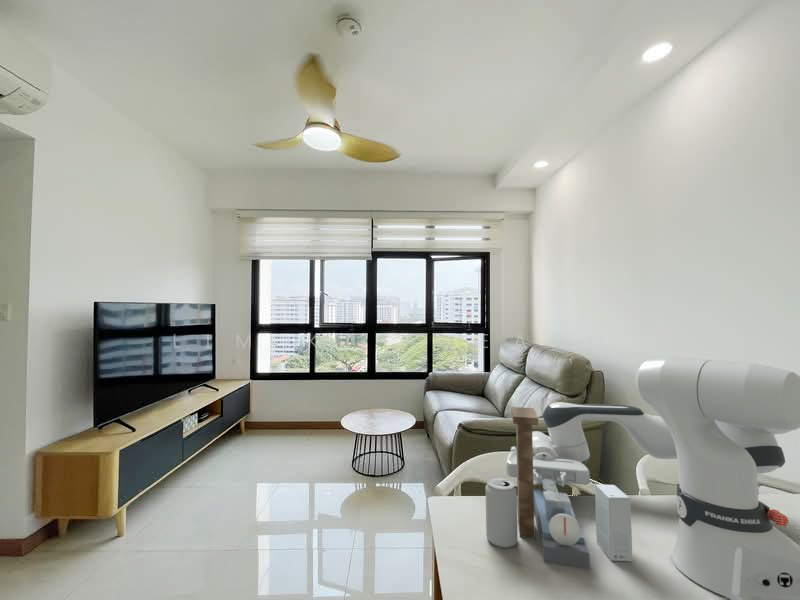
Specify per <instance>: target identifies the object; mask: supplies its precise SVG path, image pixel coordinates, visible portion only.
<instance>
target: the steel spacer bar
mask: <svg viewBox="0 0 800 600" xmlns="http://www.w3.org/2000/svg"><path fill="white" fill-rule="evenodd" d="M542 477H543V484H541V485H542V488H543V489H542V490H544V491H543V505H544V513H545V517H546V519H551V518H552V517H553V516H555V515H557V514H567V515H570V516H571V507H572V502H571V499H570V497H569V495H568V493H566V492H564V493H559V492H560V491H559V490H558V486H557V483H556V481H554V479H553V476H551V475H542ZM565 493H566V494H565Z"/></svg>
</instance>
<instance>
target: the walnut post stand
mask: <svg viewBox="0 0 800 600" xmlns="http://www.w3.org/2000/svg"><path fill="white" fill-rule="evenodd" d="M510 408H511V417H512V418H511V419H512V423H513V425H515V428H516V430H515V433H516V446H517V477H516V480H517V481H516V485H517V488H516V491H517V526H518V534H519V537H521V538H529V539H535V515H534V490H533V489H534V480H533V443H532V432H533V426H539V417H538V415H537V413H536V412H537V411H536V409H535V408H534V407H524V406H523V407H522V406H521V407H520V406H511V407H510Z"/></svg>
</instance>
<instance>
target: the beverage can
mask: <svg viewBox="0 0 800 600" xmlns="http://www.w3.org/2000/svg"><path fill="white" fill-rule="evenodd" d="M485 528H486V529H485V530H486V531H485V533H486V534H485V536H486V538H487V540H488V541H489V542H490V543H491V544H492V545H494V546H496V547H498V548H503V549H508V548H511V547H513V546H515V545H516V544H517V542H518V494H517V488H516V486H515V482H514V481H512V480H510V479H509V478H505V477H501V476H499V477H491V478H489V479H487V482H486V485H485Z"/></svg>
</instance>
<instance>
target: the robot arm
mask: <svg viewBox="0 0 800 600" xmlns="http://www.w3.org/2000/svg"><path fill="white" fill-rule="evenodd" d="M634 380H635V387H636V390H637V392H638V394H639V396H640V397H641V398H642V400H643V401H644V402H646V404H648V405H649V406H651V408H653V410H654V411H656V413H657V414H658V415H653V414H648V413H645V412H644V411H643V410H642V409H641V408H639V407H636V406H631V405H622V404H621V405H620V404H599V403H598V404H597V403H596V404H595V403H594V404H593V403H573V402H565V401H560V402H559V401H557V402H553V403H552V402H551V403H548V404H547V405H546V407H545V409H544V410H543V413H542V418H543V421H544V424H545V427H546V428H547V431H548V434H545V433H544V432H541V431H538V430H536V431H534V430H533V431H532V443H533V482H534V481H535V483H536V484H537V485H538V484H539V485H542V484H543V477H542V475H551V476H553V479H554V481H555V483H556V487H565V484H567V483H568V484H576V485H585V486H587V485H588V484H590V482H591V481H590V479H591V476H590V475H591V474H590V470H589V468H588V467H587V466H586V465H585V464H587V463H588V462H589V460H590V458H591V454H590V453H591V452H590V450H589V446H588V442H587V439H586V437H585V433H584V429H583V426H582V421H585V420H586V421H605V422H607V421H608V422H609V421H610V422H613V423H617V424H619V425H620V426H622V427H623V429H625V431H627V433H628V434H629V436H630V437H631V438H632V440H633V441H634V443H635V444H636V445H637V446H638V447H639V448H640V449H641V450H642V451H643V452H644V453H646V454H647V455H648V456H651V457H652V458H655V459H659V460H677V468H678V469H677V470H678V483H677V484H676V497H675V499H676V508H677V509H676V510H677V516H678V519H679V521H678V529H677V535H676V541H675V545H674V547H673V551H672V553H671V559H672V560H671V561H672V562H673V564H674V565H675V566H676V567H677V568H678V570H679V571H681V573H682V574H683V575H685V576H686V577H687V578H688V579H690V580H692V581H693V582H695V583H696V584H698V585H700V586H701V587H703V588H705V589H707V590H709V591H711V592H713V593H716V594H718V595H721V596H722V597H725V598H727V599H728V600H800V545H798V544H797V543H796V542H795V541H794V540H792V539H791V538H789V537H788V536H787V535H786V534H785V533H783V532H781V531H780V529H778V528H776V527H775V526H774V525H773V524H772V522H774V523H775V524H776V525H777V526H779V527H783V528H784V527H787V526H788V525H789V522H790V519H789V517H787V516H786V515H785V514H783V513H781V512H780V511H779V510H778V509H775V508H774V509H771V508H770V507H769V505H767V504H765V503H763V502H762V501H761V500H759V489H758V488H759V487H758V475H759V474H760V475H761V474H768V473H771V472H774V471H776V470H777V469H779V468H782V467H783V466H784V465H785V463H786V458H785V454H784V451H783V449H782V447H781V446H779V444H778V443H779V442H778V441H777V438H776V436H775V435H782V434H787V433H790V432H792V431H796V430H798V429H800V375H798V373H796V372H794V371H790V370H787V369H782V368H776V367H773V366H769V365H768V366H767V365H763V364H758V363H752V362H751V363H749V362H738V361H737V362H735V361H725V360H724V361H723V360H712V359H701V358H689V357H678V356H677V357H675V356H670V357H668V356H667V357H659V358H658V357H657V358H650V359H646V360H645V361H644V362H643V363H641V365H640V366H639V367H638V369H637V371H636V374H635V379H634ZM506 457H507V458H506V474H507V475H506V476H509V477H511V478H517V445H516V446H511V447H510V452H509V453H508V455H507V456H506ZM771 521H772V522H771Z"/></svg>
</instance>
